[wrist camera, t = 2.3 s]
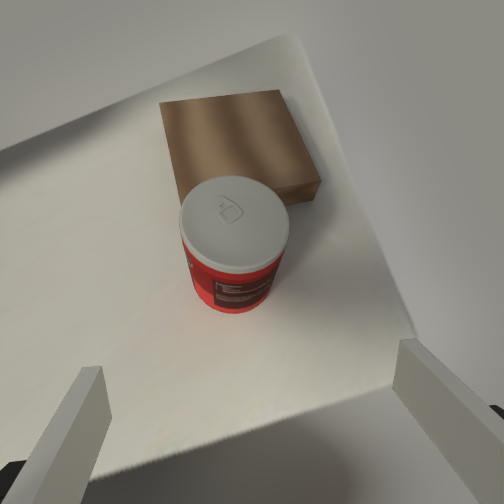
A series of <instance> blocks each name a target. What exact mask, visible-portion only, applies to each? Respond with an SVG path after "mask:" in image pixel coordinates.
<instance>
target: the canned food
mask: <svg viewBox="0 0 504 504" xmlns="http://www.w3.org/2000/svg"><path fill="white" fill-rule="evenodd" d="M179 222H180V223H179V226H180V232H181V237H182V242H183V246H184V250H185V254H186V258H187V262H188V266H189V269H190V273H191V277H192V281H193V285H194V287H195V290H196V292H197V293H198V295H199V297H200V298H201V299H202V300H203V301H204V302H205V303H206V304H207V305H209V306H210V307H212V308H213V309H215V310H218V311H220V312H224V313H232V314H237V313H243V312H247V311H249V310H252V309H253V308H255V307H257V306H258V305H259V304H260V303H261V302H262V301H263V300H264V299H265V297H266V296H267V294H268V292H269V289H270V287H271V284H272V282H273V279H274V276H275V274H276V271H277V269H278V266H279V263H280V261H281V258H282V256H283V253H284V250H285V248H286V244H287V241H288V237H289V229H290V222H289V216H288V213H287V210H286V207H285V206H284V204H283V202H282V200H281V199H280V198H279V197H278V196H277V194H276V193H275V192H274V191H272V190H271V189H270V188H269V187H267V186H266V185H264V184H262V183H261V182H259V181H256V180H254V179H251V178H248V177H243V176H236V175H226V176H218V177H214V178H210V179H208V180H206V181H204V182H202V183H200V184H199V185H197V186H196V187H195V188H193V189H192V190H191V192H190V193H189V194H188V195H187V196H186V198H185V200H184V201H183V204H182V207H181V210H180V218H179Z"/></svg>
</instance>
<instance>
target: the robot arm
mask: <svg viewBox="0 0 504 504" xmlns="http://www.w3.org/2000/svg"><path fill="white" fill-rule="evenodd" d="M392 389H393V390H394V391H395V392H396V394H397V395H398V397H399V398H400V399H401V401H402V402H403V403H404V405H405V406H406V407H407V408H408V410H409V411H410V412H411V414H412V415H413V416H414V418H415V419H416V420H417V422H418V423H419V424H420V426H421V427H422V428H423V430H424V431H425V432H426V434H427V435H428V436H429V437H430V439H431V440H432V441H433V443H434V444H435V445H436V447H437V448H438V449H439V450H440V452H441V453H442V455H443V456H444V457H445V459H446V460H447V461H448V462H449V464H450V465H451V467H452V468H453V469H454V470H455V472H456V473H457V474H458V476H459V477H460V478H461V480H462V481H463V482H464V484H465V485H466V486H467V488H468V489H469V490H470V492H471V493H472V494H473V495H474V497H475V498H476V499H477V501H478V502H479V503H480V504H504V410H503V409H502V408H500V407H498V406H497V405H490V406H488V405H487V404H486V403H485V402H484V401H483V400H482V399H481V398H479V397H478V396H477V395H476V394H475V393H474V392H473V391H472V390H471V389H470V388H469V387H468V386H466V385H465V384H464V383H463V382H462V381H461V380H460V379H459V378H458V377H457V376H456V375H454V374H453V373H452V372H451V371H450V370H449V369H448V368H447V367H446V366H445V365H444V364H443V363H441V362H440V361H439V360H438V359H437V358H436V357H435V356H434V355H433V354H432V353H431V352H430V351H429V350H427V349H426V348H425V347H424V346H423V345H422V344H421V343H420V342H419V341H418V340H417V339H405V340H400V344H399V350H398V357H397V363H396V369H395V376H394V382H393V388H392ZM111 420H112V415H111V410H110V405H109V400H108V395H107V390H106V384H105V379H104V374H103V369H102V366H93V367H82V369H81V371H80V372H79V374H78V376H77V377H76V379H75V381H74V382H73V384H72V386H71V387H70V389H69V391H68V392H67V394H66V396H65V397H64V399H63V401H62V402H61V404H60V406H59V407H58V409H57V411H56V413H55V414H54V416H53V418H52V419H51V421H50V423H49V424H48V426H47V428H46V429H45V431H44V433H43V434H42V436H41V438H40V439H39V441H38V443H37V444H36V446H35V448H34V449H33V451H32V453H31V454H30V456H29V458H28V460H24V461H15V462H9V463H8V464H7V465H6V466H5V467H4V468H3V469H2V470H1V471H0V504H80V503H81V500H82V497H83V495H84V492H85V489H86V487H87V484H88V481H89V479H90V476H91V473H92V471H93V468H94V465H95V463H96V460H97V457H98V454H99V452H100V449H101V446H102V444H103V441H104V438H105V436H106V433H107V430H108V428H109V425H110V422H111Z"/></svg>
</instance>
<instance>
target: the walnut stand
mask: <svg viewBox="0 0 504 504" xmlns="http://www.w3.org/2000/svg"><path fill="white" fill-rule="evenodd" d="M159 105H160V109H161V114H162V119H163V123H164V128H165V133H166V137H167V142H168V147H169V151H170V156H171V161H172V165H173V170H174V175H175V180H176V184H177V189H178V194H179V198H180V203H181V207H182V204H183V201H184V200H185V198H186V196H187V195H188V194H189V193H190V192H191V190H192V189H193V188H195V187H196V186H197V185H199V184H200V183H202V182H204V181H206V180H208V179H210V178H214V177H218V176H226V175H236V176H243V177H248V178H251V179H254V180H256V181H259V182H261V183H262V184H264V185H266V186H267V187H269V188H270V189H271V190H272V191H274V192H275V193H276V194H277V196H278V197H279V198H280V199H281V200H282V202H283V204H284V205H289V204H294V203H300V202H305V201H310V200H313V199H314V197H315V194H316V192H317V189H318V187H319V185H320V182H321V179H320V176H319V174H318V172H317V170H316V168H315V166H314V164H313V162H312V159H311V157H310V155H309V153H308V151H307V149H306V147H305V144H304V142H303V140H302V138H301V136H300V134H299V132H298V129H297V127H296V125H295V123H294V121H293V119H292V117H291V114H290V112H289V110H288V108H287V106H286V104H285V102H284V99H283V97H282V95H281V93H280V91H279V90H270V91H261V92H252V93H243V94H235V95H226V96H217V97H208V98H199V99H190V100H181V101H172V102H163V103H159Z"/></svg>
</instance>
